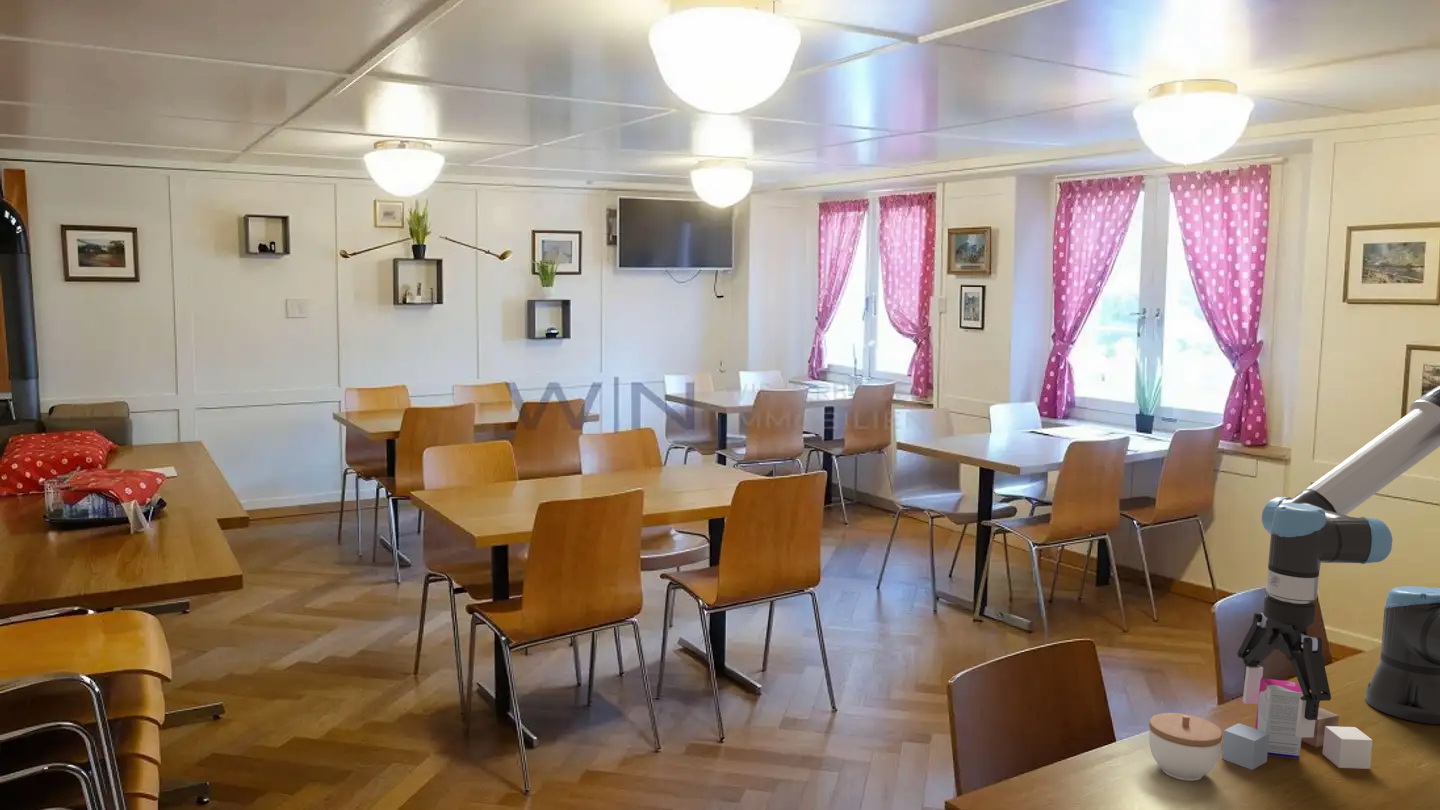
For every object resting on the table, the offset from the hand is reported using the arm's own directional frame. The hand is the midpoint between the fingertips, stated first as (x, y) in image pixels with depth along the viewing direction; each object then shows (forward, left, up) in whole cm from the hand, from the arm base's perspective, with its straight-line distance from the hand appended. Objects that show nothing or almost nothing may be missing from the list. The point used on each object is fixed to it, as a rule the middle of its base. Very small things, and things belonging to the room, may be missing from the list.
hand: (1276, 719), depth 178 cm
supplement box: (0, 0, -6) cm, 6 cm away
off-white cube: (-9, +5, -6) cm, 12 cm away
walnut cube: (-10, -4, -6) cm, 12 cm away
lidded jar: (+21, +6, -6) cm, 22 cm away
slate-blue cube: (+8, +3, -6) cm, 10 cm away
